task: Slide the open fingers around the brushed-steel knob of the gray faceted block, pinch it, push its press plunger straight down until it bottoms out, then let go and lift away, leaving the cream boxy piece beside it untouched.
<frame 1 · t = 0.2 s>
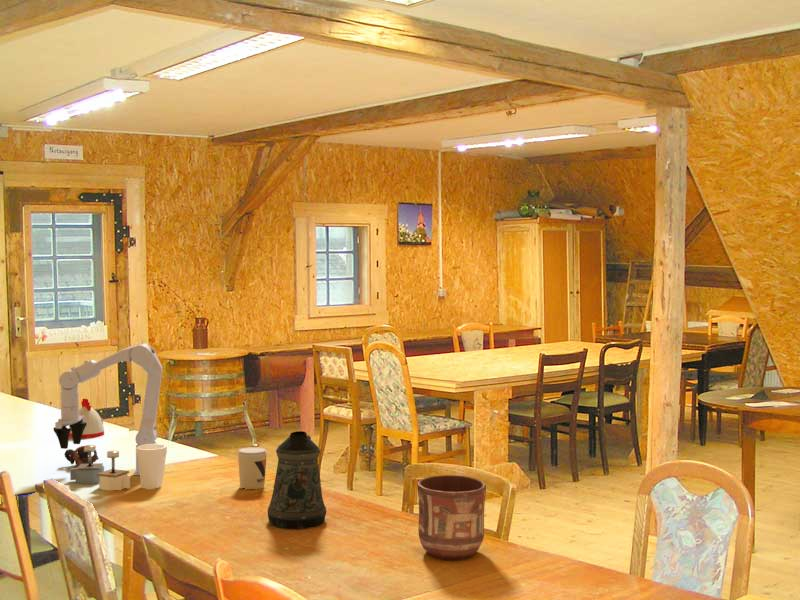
hand: (70, 446, 322), 10 cm above the table, tool pointing down, fingers open, 7 cm apart
foam cup: (151, 487, 306), on the table
pottery: (450, 553, 241), on the table
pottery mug: (81, 467, 334), on the table
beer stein: (296, 520, 270), on the table
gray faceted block: (90, 480, 313), on the table
coffee cup: (252, 487, 308), on the table
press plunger: (89, 456, 313), point 8 cm above the table, slide at 0.0 cm
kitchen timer: (86, 435, 391), on the table
cream boxy piece: (113, 487, 305), on the table
cream pot plunger: (113, 462, 304), point 8 cm above the table, slide at 0.0 cm
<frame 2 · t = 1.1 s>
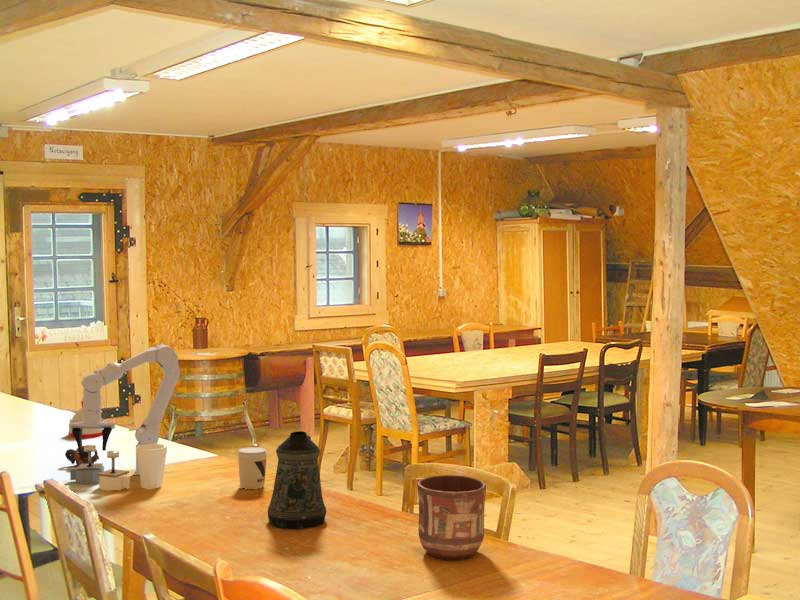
hand: (92, 450, 318), 9 cm above the table, tool pointing down, fingers open, 7 cm apart
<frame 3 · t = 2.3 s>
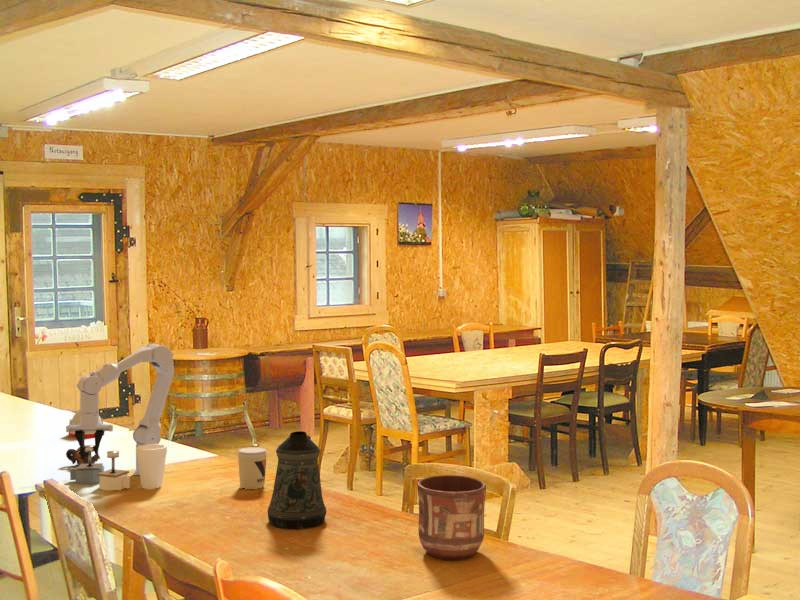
hand: (89, 453, 313), 9 cm above the table, tool pointing down, fingers closed on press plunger, 4 cm apart
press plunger: (89, 456, 313), point 8 cm above the table, slide at 0.0 cm, touching gripper
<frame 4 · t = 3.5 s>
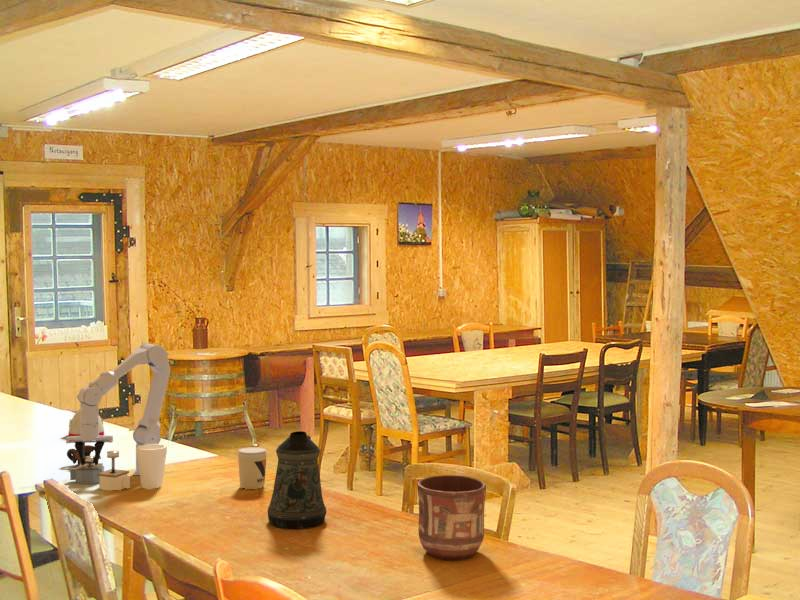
hand: (89, 464, 313), 6 cm above the table, tool pointing down, fingers closed on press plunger, 4 cm apart
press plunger: (89, 467, 313), point 4 cm above the table, slide at 3.7 cm, touching gripper
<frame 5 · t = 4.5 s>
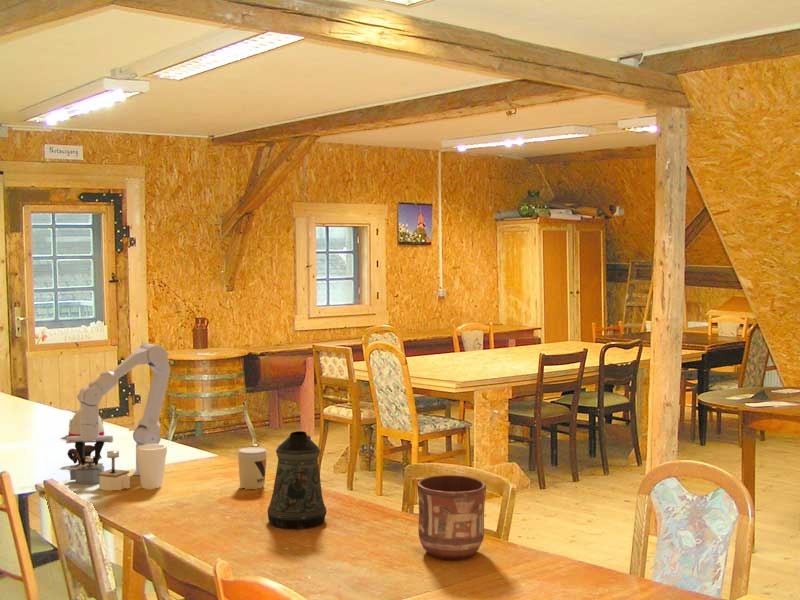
hand: (89, 464, 313), 5 cm above the table, tool pointing down, fingers closed on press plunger, 3 cm apart
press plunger: (89, 467, 313), point 4 cm above the table, slide at 3.7 cm, touching gripper
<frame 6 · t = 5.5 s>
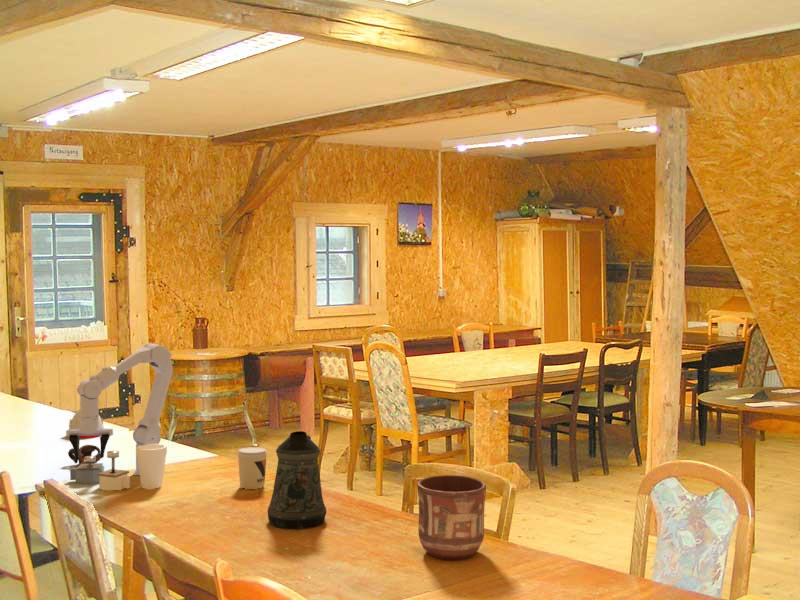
hand: (90, 457, 313), 8 cm above the table, tool pointing down, fingers open, 7 cm apart
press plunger: (89, 467, 313), point 4 cm above the table, slide at 3.7 cm
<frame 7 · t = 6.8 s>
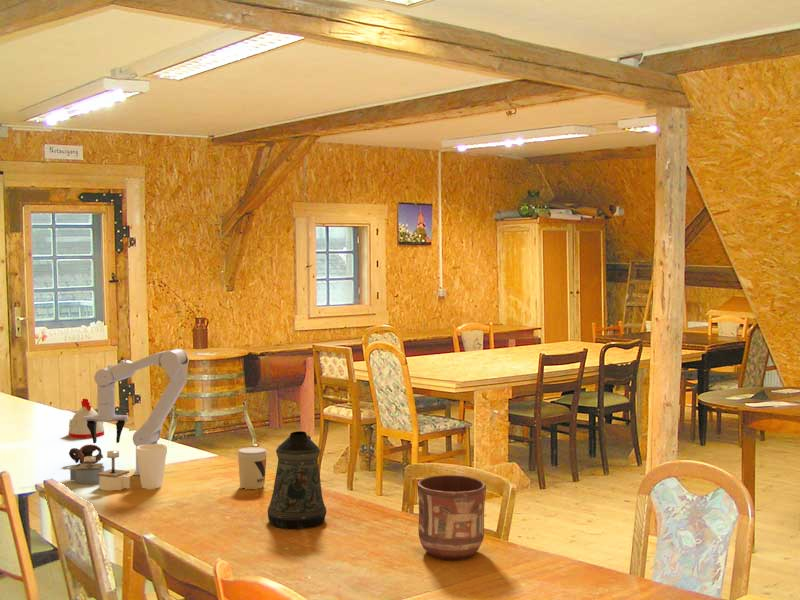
hand: (106, 442, 327), 10 cm above the table, tool pointing down, fingers open, 7 cm apart
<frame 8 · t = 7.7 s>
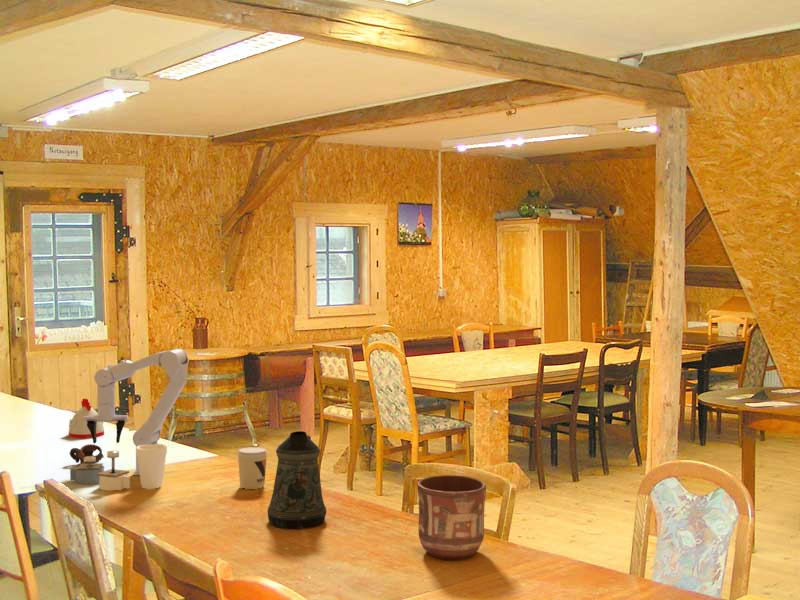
hand: (106, 442, 327), 10 cm above the table, tool pointing down, fingers open, 7 cm apart
at the end: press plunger slide at 3.7 cm; cream pot plunger slide at 0.0 cm; the gripper is holding nothing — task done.
